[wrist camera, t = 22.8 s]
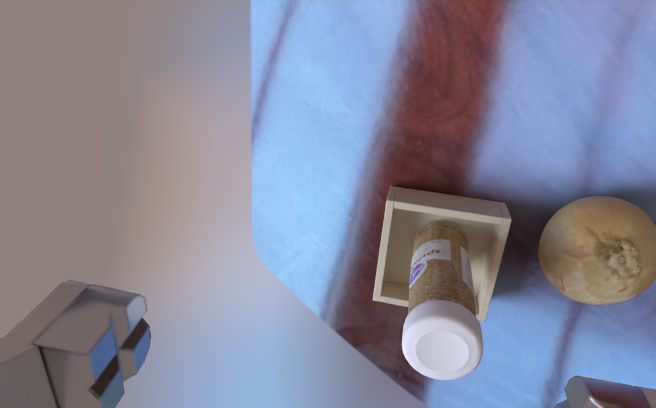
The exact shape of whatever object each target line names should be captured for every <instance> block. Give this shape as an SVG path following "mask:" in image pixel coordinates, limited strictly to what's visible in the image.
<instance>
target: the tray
mask: <svg viewBox="0 0 656 408" xmlns="http://www.w3.org/2000/svg"><path fill="white" fill-rule="evenodd" d="M511 221H512V219H511V216H510V213H509V211H508V208H507V206H506V203H502V202H495V201H489V200H482V199H475V198H468V197H462V196H455V195H448V194H441V193H435V192H428V191H421V190H414V189H408V188H401V187H394V186H391V187H390V190H389V194H388V197H387V201H386V209H385V216H384V223H383V230H382V237H381V244H380V252H379V259H378V266H377V273H376V280H375V288H374V295H373V300H374V301H380V302H385V303H390V304H395V305H400V306H406V307H408V305H409V292H410V288H409V284H410V273H411V262H412V258H413V240H414V237H415V234H416V233H417V232H418V231H419V230H420V229H421V228H422V227H424V226H425V225H427V224H429V223H432V222H449V223H452V224H454V225H456V226H457V227H458V228H459V229H461V230H462V231H463V233H464V234H465V236H466V237H467V241H468V256H469V259H470V265H471V271H472V279H473V286H474V294H475V311H476V318H477V319H478V320H479V321H484V322H485V321H486V317H487V313H488V309H489V305H490V301H491V297H492V294H493V290H494V286H495V282H496V278H497V274H498V271H499V267H500V263H501V259H502V255H503V251H504V248H505V244H506V240H507V236H508V232H509V228H510V225H511Z"/></svg>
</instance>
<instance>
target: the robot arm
mask: <svg viewBox="0 0 656 408" xmlns="http://www.w3.org/2000/svg"><path fill="white" fill-rule="evenodd" d="M146 311H147V304H146V300H145V297H144V296H142V295H140V294H136V293H131V292H126V291H122V290H117V289H112V288H108V287H103V286H98V285H94V284H93V285H92V284H87V283H82V282H77V281H73V280H68V281H66V282H63V283H61V284H60V285H59V286H58V287H57V288H56V289H55V290H53V291H52V292H51V293H50V294H49V295H48V296H47V297H46V298H45V299H44V300H43V301H42V302H41V303H40V304H39V305H38V306H37V307H36V308H34V309H33V310H32V311H31V312H30V313H29V314H28V315H27V316H26V317H25V318H24V319H23V320H22V321H21V322H20V323H19V324H18V325H17V326H16V327H15V328H13V329H12V330H11V331H10V332H9V333H8V334H7V335H6V336H5V337H4V338H3V339H1V338H0V408H115V407H116V405H117V404H118V402H119V401H120V399H121V398H122V396H123V394H124V386H123V382H124V381H125V380H127V379H129V378H130V377H132V376H134V375H136V374H137V373H138V371H139V370H140V368H141V366H142V365H143V363H144V361H145V359H146V355H147V353H148V350H149V347H150V339H151V333H150V326H149V325H148V324H147V323H146V322H145V320H144V319H143V318H142V317H143V315H144V314H145V312H146ZM564 390H565V393H566V396H567V400H565V401H563V402H561V403H559V404H557V405H556V406H555V408H656V390H654V389H648V388H643V387H637V386H631V385H626V384H620V383H615V382H609V381H603V380H598V379H592V378H586V377H581V376H574V377H573V378H571V379H570V380H569V382H568V383H567V385H566V387H565V389H564Z"/></svg>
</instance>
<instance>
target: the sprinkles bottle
mask: <svg viewBox="0 0 656 408" xmlns="http://www.w3.org/2000/svg"><path fill="white" fill-rule="evenodd" d="M409 288H410V292H409V305H408V316H407V317H406V320H405V323H404V327H403V338H402V348H403V353H404V355H405V357H406V359H407V361H408V362H409V364H410V365H411V366H412V367H413V368H414V369H416V370H417V371H418V372H420V373H421V374H423V375H425V376H427V377H430V378H434V379H439V380H454V379H458V378H461V377H464V376H466V375H468V374H469V373H471V372H472V371H473V370H475V369H476V367H477V366H478V365H479V363H480V361H481V359H482V355H483V340H482V332H481V327H480V324H479V322H478V319H477V318H476V311H475V294H474V286H473V279H472V271H471V265H470V259H469V256H468V241H467V237H466V236H465V234H464V233H463V231H462V230H461V229H459V228H458V227H457V226H456V225H454V224H452V223H449V222H432V223H429V224H427V225H425V226H424V227H422V228H421V229H420V230H419V231H418V232H417V233H416V234H415V237H414V240H413V258H412V262H411V273H410V284H409Z"/></svg>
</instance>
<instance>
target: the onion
mask: <svg viewBox="0 0 656 408" xmlns="http://www.w3.org/2000/svg"><path fill="white" fill-rule="evenodd" d="M538 253H539V262H540V265H541V267H542V270H543V272H544V274H545V276H546V277H547V279H548V280H549V282H550V283H551V284H552V285H553V286H554V287H555V288H556V289H557V290H558V291H559V292H561V293H562V294H564V295H565V296H567V297H569V298H571V299H573V300H576V301H579V302H582V303H586V304H595V305H604V304H613V303H618V302H623V301H626V300H629V299H631V298H633V297H635V296H637V295H638V294H640V293H641V292H643V291H644V290H646V289H647V288H648V287H649V286H650V285H651V284H652V282H653V281H654V280H655V279H656V225H655V224H654V223H653V221H652V220H651V218H650V217H649V216H648V214H647V213H646V212H645V211H644V210H642V209H641V208H639V207H638V206H636V205H634V204H632V203H630V202H628V201H625V200H623V199H620V198H615V197H610V196H591V197H584V198H581V199H578V200H575V201H573V202H571V203H569V204H567V205H565V206H564V207H562V208H561V209H560V210H558V211H557V212H556V213H555V214H554V215H553V216H552V217H551V218H550V220H549V221H548V222H547V224H546V226H545V228H544V230H543V233H542V235H541V238H540V241H539V252H538Z"/></svg>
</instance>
